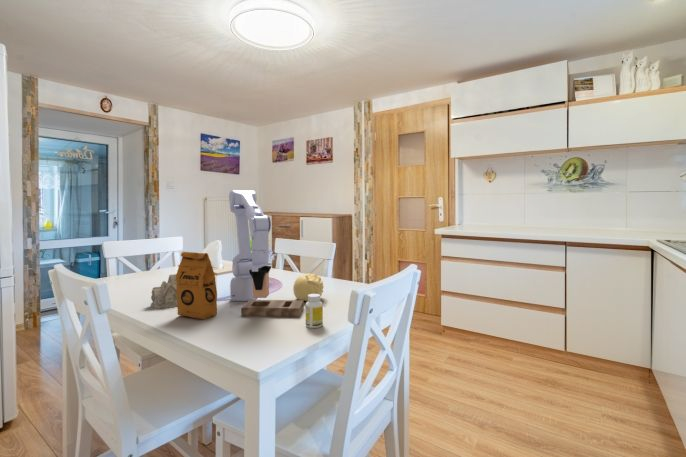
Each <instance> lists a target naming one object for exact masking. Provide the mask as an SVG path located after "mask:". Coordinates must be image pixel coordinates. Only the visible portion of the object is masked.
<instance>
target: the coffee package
mask: <svg viewBox="0 0 686 457" xmlns="http://www.w3.org/2000/svg"><path fill="white" fill-rule="evenodd" d="M180 257H181V260H180V263H179V266H178V268H177V272H176V273H175V274H176V282H177V306H176V307H177V315H178V316H183V317H189V318H193V319H198V320H206V319H209V318H212V317H214V316H216V315H218V311H217V310H218V309H217V308H218V303H217V302H218V299H217V298H218V291H217V284H216V276H215V272H214V267H213V264H212V262H211V258H210V256H209V253H207V252H194V251H190V252H189V251H182V252H181V253H180Z"/></svg>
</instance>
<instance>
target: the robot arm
mask: <svg viewBox="0 0 686 457" xmlns="http://www.w3.org/2000/svg"><path fill="white" fill-rule="evenodd" d="M228 198H229V199H228V201H229V210H230V212H232V213H233V214H234V216H235V225H236V232H237V234H236V235H237V244H238V253H237V254H236V255H235V256H234V257H233V259H232V265H231V266H232V268H231V269H232V275H233V277H231V279H230V284H229V288H230V289H229V290H230V291H229V292H230V299H229V301H231V302H232V301H233V302H248V301H249V300H257V298H253V282H254V286H255V289H256V290H262V287H263V280H264V276H265V273H269V274H270V270H271V268H272V266H271V265H272V264H273V262H272V261H270V258H269V256H270V255H269V247H270V246H269V232H270V231H271V226H272V222H271V218H270V217H271V216H269V215H268V214H264V212H263V210H262V208H261V207H260V206H259V205H258V204H257V193H256V191H255V190H254V189H252V190H249V189H248V190H246V189H245V190H242V189H231V190H230V191H229V194H228ZM250 237H251V238H250Z"/></svg>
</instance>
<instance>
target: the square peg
mask: <svg viewBox="0 0 686 457" xmlns="http://www.w3.org/2000/svg"><path fill="white" fill-rule="evenodd" d="M269 274H270V272H269V273H265V276H264V280H263V287H262V290H256V289H255V286H254V282H253V298H256V299H267V297H268V296H269V295H270V286H269V285H270V277H269Z"/></svg>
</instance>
